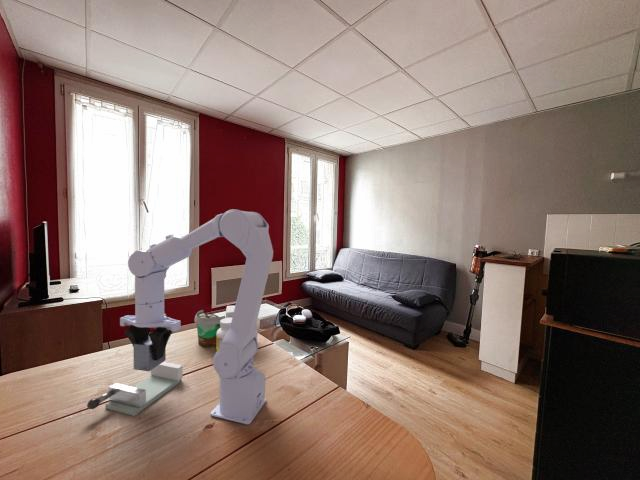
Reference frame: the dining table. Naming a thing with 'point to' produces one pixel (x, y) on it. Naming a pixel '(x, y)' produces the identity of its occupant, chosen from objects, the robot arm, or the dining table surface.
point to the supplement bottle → (222, 331)
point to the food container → (207, 328)
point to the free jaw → (121, 396)
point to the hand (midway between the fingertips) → (150, 357)
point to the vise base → (152, 387)
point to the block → (145, 355)
